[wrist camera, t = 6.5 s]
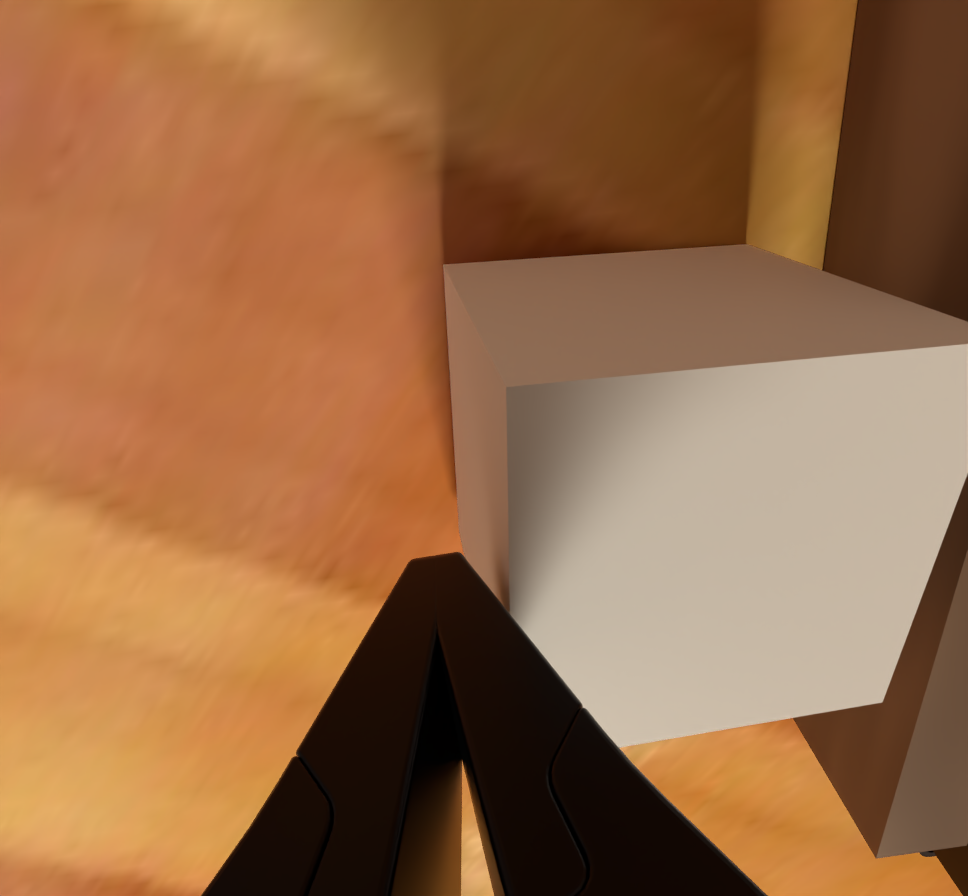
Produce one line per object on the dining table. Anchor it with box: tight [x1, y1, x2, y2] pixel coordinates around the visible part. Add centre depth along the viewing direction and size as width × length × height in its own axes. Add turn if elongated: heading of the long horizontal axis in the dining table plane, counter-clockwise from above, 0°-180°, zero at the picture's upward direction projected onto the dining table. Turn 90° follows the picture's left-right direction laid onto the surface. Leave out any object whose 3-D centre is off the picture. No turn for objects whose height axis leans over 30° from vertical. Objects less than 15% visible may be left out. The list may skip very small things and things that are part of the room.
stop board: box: [793, 0, 968, 858], centre depth 12 cm, size 2×18×5 cm, turn 6°
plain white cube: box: [443, 244, 968, 748], centre depth 11 cm, size 6×6×6 cm
